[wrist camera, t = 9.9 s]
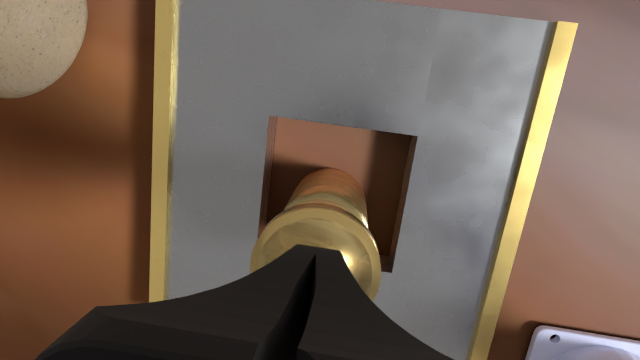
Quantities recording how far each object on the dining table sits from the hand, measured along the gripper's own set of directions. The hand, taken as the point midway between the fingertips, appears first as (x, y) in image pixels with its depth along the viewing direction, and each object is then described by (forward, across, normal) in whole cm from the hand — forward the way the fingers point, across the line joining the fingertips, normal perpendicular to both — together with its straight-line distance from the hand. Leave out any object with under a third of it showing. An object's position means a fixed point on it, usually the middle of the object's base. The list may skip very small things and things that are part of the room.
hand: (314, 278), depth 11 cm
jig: (+10, 0, 0) cm, 10 cm away
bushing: (+10, 0, +1) cm, 10 cm away
